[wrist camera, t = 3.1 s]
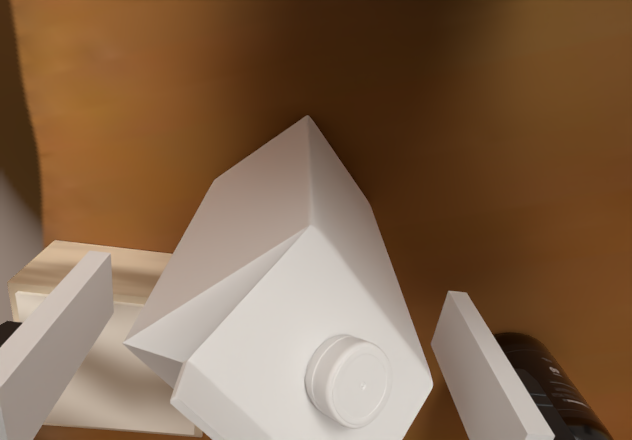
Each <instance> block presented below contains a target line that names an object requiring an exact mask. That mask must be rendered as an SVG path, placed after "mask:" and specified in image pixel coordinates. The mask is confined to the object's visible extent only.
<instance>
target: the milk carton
mask: <svg viewBox="0 0 632 440" xmlns="http://www.w3.org/2000/svg"><path fill="white" fill-rule="evenodd" d="M122 344H123V345H124V346H125V347H127V348H128V349H129V350H130V351H131V352H132V353H133V354H134V355H135V356H137V357H138V358H139V359H140V360H141V361H142V362H143V363H144V364H146V365H147V366H148V367H149V368H150V369H151V370H152V371H154V372H155V373H156V374H157V375H158V376H159V377H160V378H161V379H163V380H164V381H165V382H166V383H167V384H168V385H169V386H171V387H172V388H173V389H174V390H173V393H172V396H171V399H170V404H172V405H173V406H174V407H175V408H176V409H177V410H179V411H180V412H181V413H182V414H183V415H184V416H186V417H187V418H188V419H189V420H190V421H191V422H192V423H194V424H195V425H196V426H197V427H198V428H199V429H201V430H202V431H203V432H204V433H205V434H206V435H208V436H209V437H210V438H211V439H212V440H402V439H403V437H404V436H405V434H406V432H407V431H408V429H409V427H410V426H411V424H412V422H413V420H414V419H415V417H416V415H417V414H418V412H419V410H420V409H421V407H422V405H423V404H424V402H425V400H426V398H427V397H428V395H429V393H430V391H431V390H432V388H433V382H432V377H431V373H430V370H429V367H428V364H427V362H426V359H425V356H424V353H423V350H422V347H421V345H420V342H419V339H418V336H417V334H416V331H415V328H414V325H413V322H412V320H411V317H410V314H409V311H408V308H407V306H406V303H405V300H404V297H403V295H402V292H401V289H400V286H399V283H398V281H397V278H396V275H395V272H394V270H393V267H392V264H391V261H390V258H389V256H388V253H387V250H386V247H385V244H384V242H383V239H382V236H381V233H380V231H379V228H378V225H377V222H376V219H375V217H374V214H373V211H372V208H371V206H370V204H369V202H368V200H367V199H366V197H365V196H364V194H363V193H362V191H361V190H360V189H359V187H358V186H357V184H356V183H355V181H354V180H353V178H352V177H351V175H350V174H349V172H348V171H347V170H346V168H345V167H344V165H343V164H342V162H341V161H340V159H339V158H338V156H337V155H336V153H335V152H334V151H333V149H332V148H331V146H330V145H329V143H328V142H327V140H326V139H325V137H324V136H323V134H322V133H321V132H320V130H319V129H318V127H317V126H316V124H315V123H314V121H313V120H312V119H311V117H310V116H309V115H307V116H305V117H303V118H302V119H301V120H299V121H298V122H296V123H295V124H293V125H292V126H291V127H289V128H288V129H286V130H285V131H283V132H282V133H280V134H279V135H278V136H276V137H275V138H273V139H272V140H270V141H269V142H268V143H266V144H265V145H263V146H262V147H260V148H259V149H258V150H256V151H255V152H253V153H252V154H250V155H249V156H247V157H246V158H245V159H243V160H242V161H240V162H239V163H237V164H236V165H235V166H233V167H232V168H230V169H229V170H227V171H226V172H225V173H223V174H222V175H220V176H219V177H217V178H216V179H215V180H214V181H213V183H212V185H211V186H210V188H209V190H208V192H207V194H206V195H205V197H204V199H203V201H202V202H201V204H200V206H199V208H198V210H197V211H196V213H195V215H194V217H193V219H192V220H191V222H190V224H189V226H188V228H187V229H186V231H185V233H184V235H183V237H182V238H181V240H180V242H179V244H178V246H177V247H176V249H175V251H174V253H173V255H172V256H171V258H170V260H169V262H168V263H167V265H166V267H165V269H164V271H163V272H162V274H161V276H160V278H159V280H158V281H157V283H156V285H155V287H154V289H153V290H152V292H151V294H150V296H149V298H148V299H147V301H146V303H145V305H144V307H143V308H142V310H141V312H140V314H139V316H138V317H137V319H136V321H135V323H134V324H133V326H132V328H131V330H130V332H129V333H128V335H127V337H126V339H125V341H124V342H123V343H122Z"/></svg>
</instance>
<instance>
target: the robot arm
mask: <svg viewBox="0 0 632 440" xmlns="http://www.w3.org/2000/svg"><path fill="white" fill-rule="evenodd" d="M113 313H114V307H113V287H112V267H111V253H107V252H98V251H89V252H88V253H87V254H86V255H85V256H84V257H83V258H82V259H81V260H80V261H79V262H78V264H77V265H76V266H75V267H74V268H73V269H72V270H71V271H70V272H69V273H68V274H67V276H66V277H65V278H64V279H63V280H62V281H61V282H60V283H59V284H58V285H57V286H56V287H55V289H54V290H53V291H52V292H51V293H50V294H49V295H48V296H47V297H46V298H45V299H44V301H43V302H42V303H41V304H40V305H39V306H38V307H37V308H36V309H35V310H34V311H33V312H32V314H31V315H30V316H29V317H28V318H27V319H26V320H25V321H24V322H23V323H22V322H12V321H7V322H5V323H3V324H1V325H0V440H33V439H34V437H35V436H36V434H37V432H38V431H39V429H40V428H41V426H42V425H43V423H44V421H45V420H46V418H47V417H48V415H49V414H50V412H51V410H52V409H53V407H54V406H55V404H56V403H57V401H58V400H59V398H60V396H61V395H62V393H63V392H64V390H65V389H66V387H67V385H68V384H69V382H70V381H71V379H72V378H73V376H74V374H75V373H76V371H77V370H78V368H79V367H80V365H81V364H82V362H83V360H84V359H85V357H86V356H87V354H88V353H89V351H90V349H91V348H92V346H93V345H94V343H95V342H96V340H97V339H98V337H99V335H100V334H101V332H102V331H103V329H104V328H105V326H106V324H107V323H108V321H109V320H110V318H111V317H112V315H113ZM431 347H432V349H433V351H434V354H435V356H436V359H437V361H438V364H439V366H440V369H441V371H442V374H443V376H444V379H445V381H446V383H447V386H448V388H449V391H450V393H451V396H452V398H453V401H454V403H455V406H456V408H457V411H458V413H459V415H460V418H461V420H462V423H463V425H464V428H465V430H466V433H467V435H468V438H469V440H576V439H575V437H574V436H573V434H572V433H571V431H570V430H569V428H568V427H567V425H566V424H565V422H564V421H563V419H562V418H561V416H560V415H559V413H558V411H557V410H556V408H555V407H553V404H552V402H551V401H550V399H549V398H548V397H546V393H545V392H544V390H543V389H542V387H541V386H540V384H539V383H538V381H537V380H536V379H534V378H533V377H532V376H531V375H530V374H529V373H528V372H527V371H526V370H524V369H515V368H513V367H512V365H511V364H510V362H509V361H508V359H507V357H506V356H505V354H504V352H503V351H502V349H501V348H500V346H499V344H498V343H497V341H496V339H495V338H494V336H493V335H492V333H491V331H490V330H489V328H488V327H487V325H486V323H485V322H484V320H483V318H482V317H481V315H480V314H479V312H478V310H477V309H476V307H475V305H474V304H473V302H472V301H471V299H470V297H469V296H468V294H467V293H466V292H457V291H448V293H447V296H446V299H445V302H444V305H443V308H442V311H441V314H440V317H439V320H438V323H437V326H436V329H435V332H434V336H433V339H432V342H431Z"/></svg>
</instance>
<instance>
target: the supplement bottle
mask: <svg viewBox="0 0 632 440" xmlns="http://www.w3.org/2000/svg"><path fill="white" fill-rule="evenodd" d="M494 338H495V339H496V341H497V343H498V344H499V346H500V348H501V349H502V351H503V352H504V354H505V356H506V357H507V359H508V361H509V362H510V364H511V365H512V367H513V368H515V369H524V370H526V371H527V372H528V373H529V374H530V375H531V376H532V377H533V378H534V379H536V380H537V381H538V383H539V384H540V386H541V387H542V389H543V390H544V392H545V393H546V397H548V398H549V399H550V401H551V402H552V404H553V407H555V408H556V410H557V411H558V413H559V415H560V416H561V418H562V419H563V421H564V422H565V424H566V425H567V427H568V428H569V430H570V431H571V433H572V434H573V436H574V437H575V439H576V440H614V439H613V438H612V436H611V435H610V433H609V432H608V430H607V429H606V428H605V426H604V425H603V423H602V422H601V421H600V419H599V418H598V417H597V415H596V414H595V413H594V411H593V410H592V409H591V407H590V406H589V404H588V403H587V402H586V400H585V399H584V398H583V396H582V395H581V394H580V392H579V391H578V390H577V388H576V387H575V386H574V384H573V383H572V381H571V380H570V379H569V377H568V376H567V375H566V373H565V372H564V371H563V369H562V368H561V367H560V365H559V364H558V363H557V361H556V360H555V358H554V357H553V356H552V355H551V353H550V352H549V351H548V349H547V348H546V347H545V346H544V345H543V344H542V343H541V342H540V341H538V340H537V339H535V338H534V337H531V336H529V335H525V334H521V333H503V334H498V335H495V336H494Z"/></svg>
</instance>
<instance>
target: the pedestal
mask: <svg viewBox="0 0 632 440" xmlns="http://www.w3.org/2000/svg"><path fill="white" fill-rule="evenodd" d="M89 251H98V252H107V253H111V267H112V287H113V307H114V313H113V315H112V317H111V318H110V320H109V321H108V323H107V324H106V326H105V328H104V329H103V331H102V332H101V334H100V335H99V337H98V339H97V340H96V342H95V343H94V345H93V346H92V348H91V349H90V351H89V353H88V354H87V356H86V357H85V359H84V360H83V362H82V364H81V365H80V367H79V368H78V370H77V371H76V373H75V374H74V376H73V378H72V379H71V381H70V382H69V384H68V385H67V387H66V389H65V390H64V392H63V393H62V395H61V396H60V398H59V400H58V401H57V403H56V404H55V406H54V407H53V409H52V410H51V412H50V414H49V415H48V417H47V418H46V420H45V421H44V423H43V425H54V426H66V427H78V428H91V429H103V430H115V431H128V432H140V433H152V434H165V435H177V436H189V437H202V436H203V431H202V430H201V429H199V428H198V427H197V426H196V425H195V424H194V423H192V422H191V421H190V420H189V419H188V418H187V417H186V416H184V415H183V414H182V413H181V412H180V411H179V410H177V409H176V408H175V407H174V406H173V405H172V404H170V399H171V396H172V393H173V390H174V389H173V388H172V387H171V386H169V385H168V384H167V383H166V382H165V381H164V380H163V379H161V378H160V377H159V376H158V375H157V374H156V373H155V372H154V371H152V370H151V369H150V368H149V367H148V366H147V365H146V364H144V363H143V362H142V361H141V360H140V359H139V358H138V357H137V356H135V355H134V354H133V353H132V352H131V351H130V350H129V349H128V348H127V347H125V346H124V345H123V344H122V343H123V342H124V341H125V339H126V337H127V335H128V333H129V332H130V330H131V328H132V326H133V324H134V323H135V321H136V319H137V317H138V316H139V314H140V312H141V310H142V308H143V307H144V305H145V303H146V301H147V299H148V298H149V296H150V294H151V292H152V290H153V289H154V287H155V285H156V283H157V281H158V280H159V278H160V276H161V274H162V272H163V271H164V269H165V267H166V265H167V263H168V262H169V260H170V258H171V256H172V255H173V254H170V253H161V252H152V251H144V250H135V249H127V248H118V247H110V246H101V245H93V244H84V243H75V242H67V241H58V240H54V241H53V242H52V243H51V244H50V245H49V246H48V247H46V248H45V249H44V250H43V251H42V252H41V253H40V254H39V255H38V256H36V257H35V258H34V259H33V260H32V261H31V262H30V263H29V264H27V265H26V266H25V267H24V268H23V269H22V270H21V271H19V272H18V273H17V274H16V275H15V276H14V277H13V278H12V279H10V280H9V281H8V282H7V285H8V291H9V296H10V302H11V308H12V314H13V320H14V322H22V323H23V322H24V321H25V320H26V319H27V318H28V317H29V316H30V315H31V314H32V312H33V311H34V310H35V309H36V308H37V307H38V306H39V305H40V304H41V303H42V302H43V301H44V299H45V298H46V297H47V296H48V295H49V294H50V293H51V292H52V291H53V290H54V289H55V287H56V286H57V285H58V284H59V283H60V282H61V281H62V280H63V279H64V278H65V277H66V276H67V274H68V273H69V272H70V271H71V270H72V269H73V268H74V267H75V266H76V265H77V264H78V262H79V261H80V260H81V259H82V258H83V257H84V256H85V255H86V254H87V253H88V252H89Z"/></svg>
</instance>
